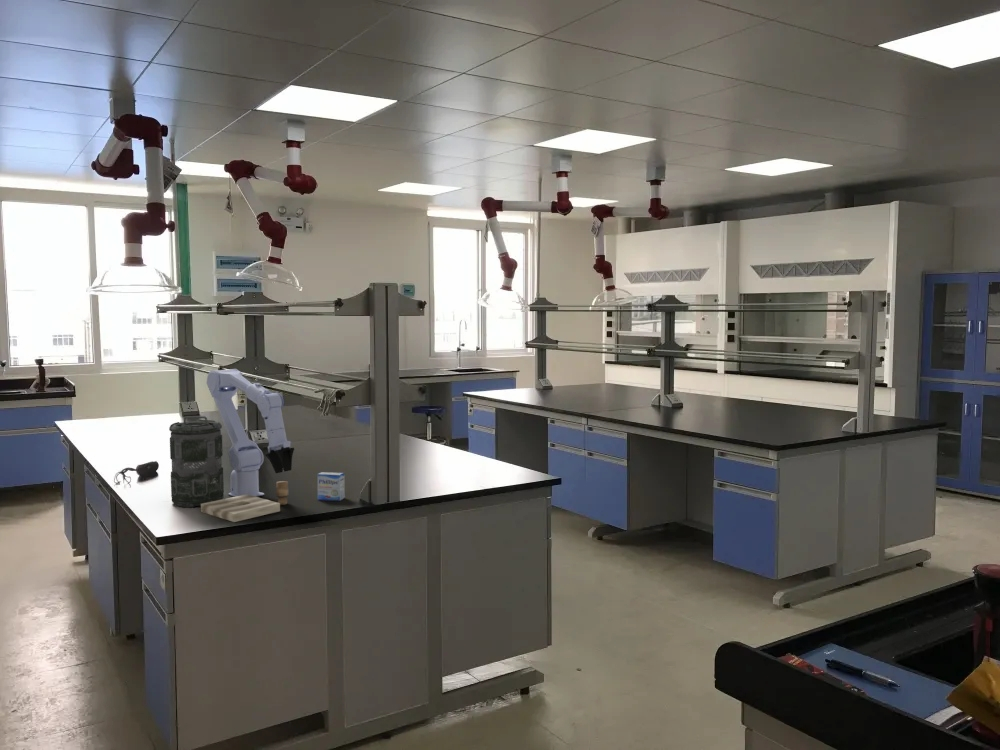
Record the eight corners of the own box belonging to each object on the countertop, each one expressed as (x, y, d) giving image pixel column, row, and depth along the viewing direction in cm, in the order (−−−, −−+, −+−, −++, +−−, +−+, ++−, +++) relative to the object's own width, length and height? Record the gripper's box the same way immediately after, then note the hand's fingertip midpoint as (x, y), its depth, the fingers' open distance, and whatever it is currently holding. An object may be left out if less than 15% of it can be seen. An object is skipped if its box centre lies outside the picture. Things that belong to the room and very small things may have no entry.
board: (201, 511, 240) (200, 503, 239) (246, 501, 252) (246, 494, 252) (234, 522, 228) (233, 513, 228) (280, 511, 241) (279, 503, 241)
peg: (274, 503, 250) (274, 482, 249) (283, 501, 252) (283, 480, 252) (281, 505, 247) (280, 484, 247) (290, 503, 250) (290, 482, 250)
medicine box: (317, 500, 255) (316, 474, 254) (322, 496, 259) (322, 471, 258) (340, 501, 254) (339, 475, 253) (345, 497, 258) (344, 472, 257)
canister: (230, 495, 260) (228, 412, 257) (214, 508, 244) (212, 419, 242) (182, 495, 259) (179, 412, 257) (163, 508, 244) (160, 419, 241)
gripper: (295, 425, 246) (303, 467, 245) (279, 430, 257) (287, 471, 256) (274, 429, 242) (282, 471, 241) (258, 434, 253) (266, 475, 252)
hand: (283, 471), depth 248 cm, fingers open, 7 cm apart
